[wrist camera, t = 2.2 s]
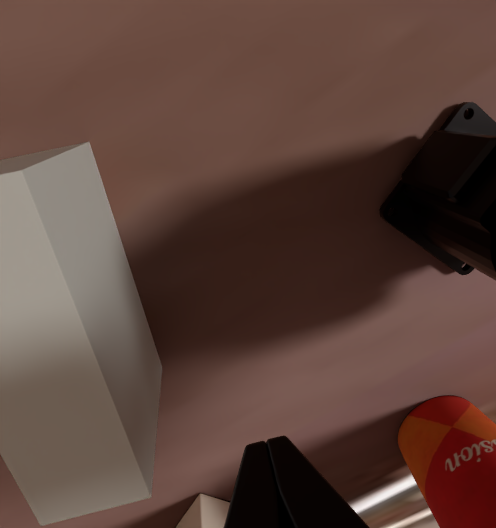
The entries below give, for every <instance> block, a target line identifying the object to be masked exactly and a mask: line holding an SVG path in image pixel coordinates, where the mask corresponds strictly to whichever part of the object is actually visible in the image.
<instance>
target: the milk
mask: <svg viewBox="0 0 496 528" xmlns="http://www.w3.org/2000/svg"><path fill="white" fill-rule="evenodd" d="M229 506H230V503H229V502H226V501H223V500H220V499H217V498H214V497H211V496H207V495H204V494H199V495H198V497H197V498H196V500H195V501H194V502H193V504H192V505H191V507H190V508H189V509H188V511H187V512H186V514H185V515H184V516H183V518H182V519H181V521H180V522H179V523H178V525H177V526H176V527H175V528H224V524H225V520H226V517H227V513H228V509H229Z"/></svg>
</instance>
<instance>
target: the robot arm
mask: <svg viewBox="0 0 496 528" xmlns="http://www.w3.org/2000/svg"><path fill="white" fill-rule="evenodd" d="M466 109H468V111H469V114H468V116H467V117H466V118H464V112H465V110H466ZM390 208H394V212H393V213H392V214H391V215H389V216H388V211H389V209H390ZM380 216H381V217H382V219H384V220H385V221H386V222H388V223H389V224H391V225H392V226H393V227H395V228H396V229H398V230H399V231H400V232H402V233H403V234H404V235H406V236H407V237H409V238H410V239H411V240H413V241H414V242H416V243H417V244H418V245H420V246H421V247H422V248H424V249H425V250H427V251H428V252H429V253H431V254H432V255H434V256H435V257H436V258H438V259H439V260H441V261H442V262H443V263H445V264H446V265H447V266H449V267H450V268H452V269H453V270H454V271H456V272H457V273H459V274H461V275H467V274H469V273H470V272H471V271H472V270H473V269H474V268H475V269H477V270H479V271H480V272H482V273H484V274H486V275H487V276H489V277H491V278H493V279H494V280H496V122H495V121H494V120H493V119H492V118H490V117H489V116H488V115H487V114H486V113H485V112H484V111H483V110H482V109H481V108H480V107H479V106H478V105H477V104H475V103H473V102H463V103H461V104H459V105H458V106H457V107H456V109H455V110H454V111H453V112H452V114H451V115H450V116H449V118H448V119H447V120H446V122H445V123H444V124H443V126H442V127H441V128H440V130H439V131H435V132H434V133H433V134H432V135H431V137H430V138H429V139H428V141H427V142H426V143H425V145H424V146H423V147H422V149H421V150H420V151H419V153H418V154H417V155H416V157H415V158H414V159H413V161H412V162H411V163H410V164H409V166H408V167H407V168H406V170H405V171H404V172H403V174H402V178H401V181H400V182H399V183H398V185H397V186H396V187H395V189H394V190H393V191H392V193H391V194H390V195H389V197H388V198H387V199H386V201H385V202H384V203H383V204H382V206H381V208H380ZM464 263H466V264H465V266H464V267H463V268H462V265H463V264H464ZM224 528H369V527H368V525H367V524H366V523H365V522H364V521H363V520H362V519H361V518H360V517H359V516H358V514H357V513H356V512H355V511H354V510H353V509H352V508H351V507H350V506H349V505H348V503H347V502H346V501H345V500H344V499H343V498H342V497H341V496H340V495H339V494H338V493H337V491H336V490H335V489H334V488H333V487H332V486H331V485H330V484H329V483H328V482H327V480H326V479H325V478H324V477H323V476H322V475H321V474H320V473H319V472H318V471H317V469H316V468H315V467H314V466H313V465H312V464H311V463H310V462H309V461H308V460H307V458H306V457H305V456H304V455H303V454H302V453H301V452H300V451H299V450H298V449H297V447H296V446H295V445H294V444H293V443H292V442H291V441H290V440H289V439H288V438H287V437H286V436H280V437H276V438H272V439H268V440H267V442H265V441H260V442H256V443H252V444H248V445H247V446H246V447H245V450H244V453H243V457H242V461H241V465H240V468H239V472H238V476H237V479H236V483H235V487H234V491H233V494H232V498H231V502H230V506H229V509H228V513H227V517H226V520H225V524H224Z"/></svg>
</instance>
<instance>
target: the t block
mask: <svg viewBox="0 0 496 528" xmlns="http://www.w3.org/2000/svg"><path fill="white" fill-rule="evenodd" d="M161 377H162V365H161V362H160V359H159V356H158V353H157V349H156V346H155V343H154V340H153V337H152V334H151V331H150V328H149V325H148V322H147V319H146V316H145V313H144V309H143V306H142V303H141V300H140V297H139V294H138V291H137V288H136V285H135V282H134V279H133V276H132V272H131V269H130V266H129V263H128V260H127V257H126V254H125V251H124V248H123V245H122V242H121V239H120V235H119V232H118V229H117V226H116V223H115V220H114V217H113V214H112V211H111V208H110V205H109V202H108V199H107V195H106V192H105V189H104V186H103V183H102V180H101V177H100V174H99V171H98V168H97V165H96V162H95V158H94V155H93V152H92V149H91V146H90V143H89V142H85V143H81V144H76V145H71V146H66V147H61V148H56V149H52V150H47V151H42V152H37V153H32V154H27V155H22V156H18V157H13V158H8V159H3V160H0V455H1V456H2V458H3V460H4V462H5V464H6V465H7V467H8V469H9V471H10V472H11V474H12V476H13V478H14V479H15V481H16V483H17V485H18V487H19V488H20V490H21V492H22V494H23V495H24V497H25V499H26V501H27V502H28V504H29V506H30V508H31V510H32V511H33V513H34V515H35V517H36V518H37V520H38V522H39V524H40V526H43V525H47V524H51V523H55V522H59V521H63V520H67V519H70V518H74V517H78V516H82V515H86V514H90V513H93V512H97V511H101V510H105V509H109V508H113V507H117V506H120V505H124V504H128V503H132V502H136V501H140V500H143V499H147V498H151V494H152V482H153V470H154V459H155V447H156V435H157V424H158V412H159V400H160V389H161Z"/></svg>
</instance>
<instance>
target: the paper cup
mask: <svg viewBox="0 0 496 528" xmlns="http://www.w3.org/2000/svg"><path fill="white" fill-rule="evenodd" d="M398 445H399V448H400V451H401V453H402V455H403V457H404V459H405V461H406V463H407V465H408V467H409V469H410V471H411V473H412V475H413V477H414V479H415V481H416V483H417V485H418V487H419V489H420V491H421V493H422V494H423V496H424V498H425V500H426V502H427V504H428V506H429V508H430V510H431V512H432V513H433V515H434V517H435V519H436V521H437V523H438V525H439V527H440V528H496V425H495V424H494V423H493V422H492V421H491V420H490V419H489V418H488V417H487V416H485V415H484V414H483V413H482V412H481V411H480V410H479V409H478V408H476V407H475V406H474V405H473V404H472V403H470V402H469V401H467V400H466V399H464V398H461V397H458V396H449V395H448V396H440V397H436V398H432V399H430V400H428V401H425V402H423V403H422V404H420V405H419V406H417V407H416V408H415V409H413V410H412V411H411V412H410V413H409V414H408V415H407V417H406V418H405V419H404V421H403V422H402V424H401V426H400V429H399V432H398Z"/></svg>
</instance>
